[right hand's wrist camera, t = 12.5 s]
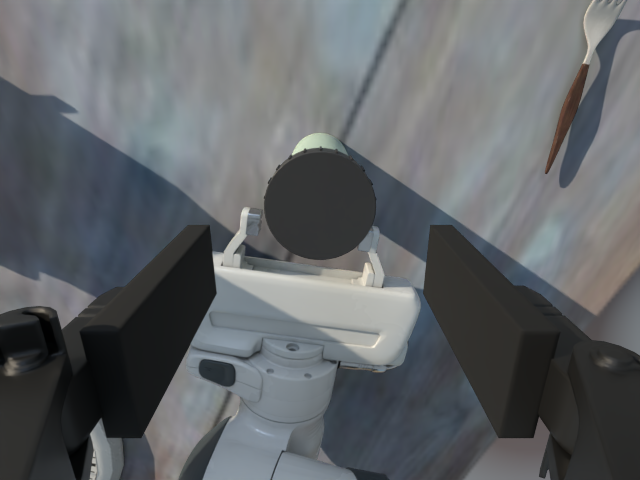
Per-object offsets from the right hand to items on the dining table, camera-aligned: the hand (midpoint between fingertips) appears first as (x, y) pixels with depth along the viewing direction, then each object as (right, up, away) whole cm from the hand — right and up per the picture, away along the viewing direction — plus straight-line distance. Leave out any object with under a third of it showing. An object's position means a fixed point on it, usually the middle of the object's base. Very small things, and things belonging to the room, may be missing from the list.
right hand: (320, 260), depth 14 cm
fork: (+22, +14, +19) cm, 32 cm away
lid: (0, +3, +7) cm, 7 cm away
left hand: (-1, +2, +17) cm, 17 cm away
